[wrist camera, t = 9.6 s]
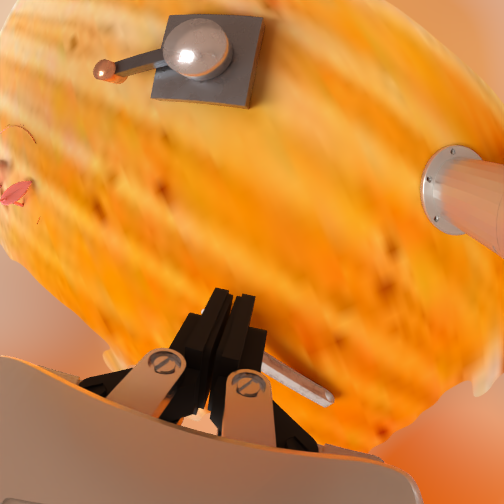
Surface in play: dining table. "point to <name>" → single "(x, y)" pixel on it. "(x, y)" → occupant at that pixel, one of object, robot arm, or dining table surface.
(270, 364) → the wrench
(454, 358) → the dining table surface
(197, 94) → the base
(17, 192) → the figurine
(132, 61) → the ball-ended lever handle
